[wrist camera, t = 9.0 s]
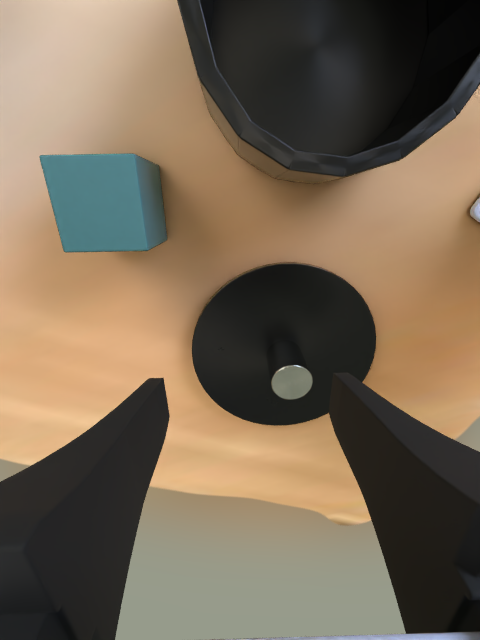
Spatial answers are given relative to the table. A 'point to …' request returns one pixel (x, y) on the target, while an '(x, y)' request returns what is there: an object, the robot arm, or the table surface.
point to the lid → (281, 342)
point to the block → (105, 201)
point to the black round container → (332, 78)
